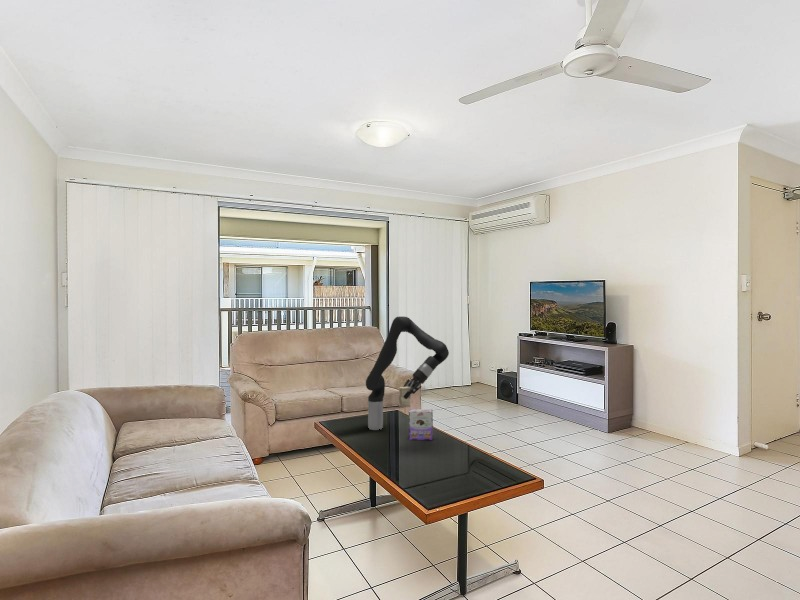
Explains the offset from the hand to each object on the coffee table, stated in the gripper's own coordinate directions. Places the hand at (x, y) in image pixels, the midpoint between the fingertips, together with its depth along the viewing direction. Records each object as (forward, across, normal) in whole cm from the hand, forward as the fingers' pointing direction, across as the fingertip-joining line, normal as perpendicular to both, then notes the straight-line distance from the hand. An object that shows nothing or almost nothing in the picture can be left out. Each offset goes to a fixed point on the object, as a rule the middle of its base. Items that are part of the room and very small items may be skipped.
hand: (402, 396), depth 240 cm
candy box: (+8, -12, +32) cm, 35 cm away
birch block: (+3, 0, +4) cm, 5 cm away
